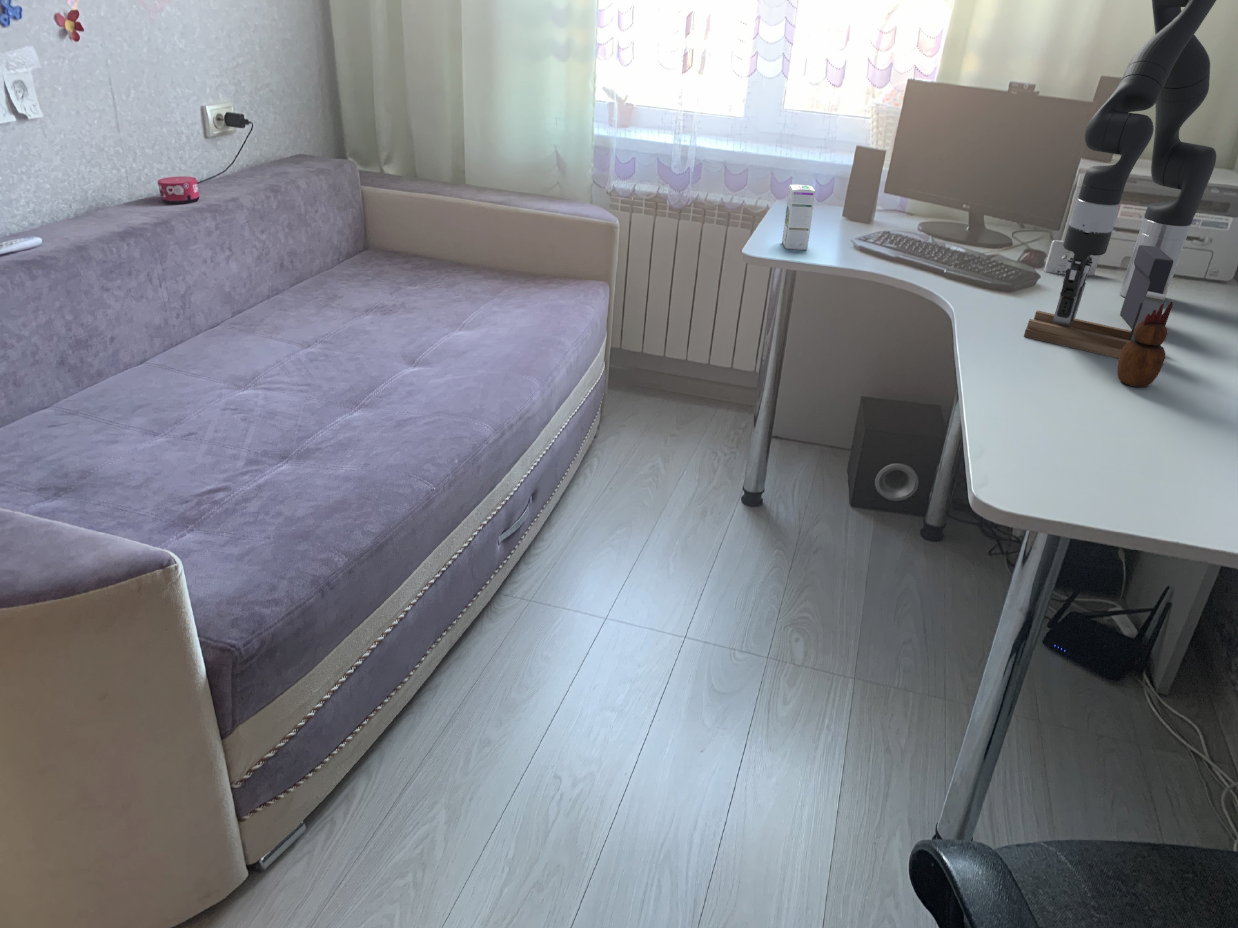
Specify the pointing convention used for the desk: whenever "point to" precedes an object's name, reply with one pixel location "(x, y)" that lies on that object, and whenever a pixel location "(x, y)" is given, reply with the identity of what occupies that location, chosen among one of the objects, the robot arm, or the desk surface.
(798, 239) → the syrup box
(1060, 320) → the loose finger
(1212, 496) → the desk surface
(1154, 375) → the wooden figurine
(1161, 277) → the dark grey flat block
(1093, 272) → the cassette
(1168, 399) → the desk surface
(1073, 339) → the rail
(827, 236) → the desk surface
